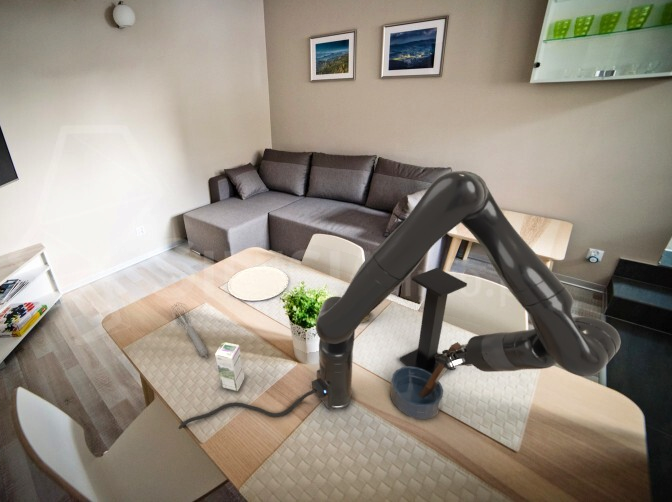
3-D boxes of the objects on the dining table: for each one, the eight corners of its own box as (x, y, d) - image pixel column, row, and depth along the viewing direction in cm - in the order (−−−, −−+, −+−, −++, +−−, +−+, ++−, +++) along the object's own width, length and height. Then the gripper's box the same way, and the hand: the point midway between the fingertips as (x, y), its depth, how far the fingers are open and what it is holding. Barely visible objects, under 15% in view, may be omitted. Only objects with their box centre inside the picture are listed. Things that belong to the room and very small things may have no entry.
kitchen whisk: (199, 364, 113) (196, 350, 110) (170, 315, 139) (167, 302, 137) (215, 356, 116) (212, 342, 113) (184, 309, 142) (181, 297, 140)
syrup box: (245, 377, 106) (239, 343, 100) (237, 392, 101) (231, 357, 95) (229, 373, 108) (223, 340, 102) (221, 388, 103) (214, 354, 97)
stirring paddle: (454, 351, 77) (449, 346, 78) (421, 398, 92) (418, 394, 93) (464, 345, 78) (459, 340, 79) (431, 393, 93) (427, 389, 94)
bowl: (415, 429, 86) (417, 413, 84) (380, 391, 97) (381, 377, 95) (450, 408, 91) (454, 392, 88) (413, 374, 102) (415, 360, 100)
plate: (237, 309, 139) (237, 307, 138) (221, 277, 164) (221, 275, 163) (299, 291, 148) (298, 288, 147) (275, 262, 173) (274, 260, 172)
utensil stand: (424, 382, 99) (438, 295, 86) (399, 360, 108) (409, 277, 94) (452, 367, 103) (469, 282, 90) (426, 347, 112) (439, 266, 98)
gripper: (509, 323, 72) (452, 333, 87) (465, 346, 67) (413, 352, 83) (529, 357, 70) (466, 361, 85) (485, 383, 65) (427, 382, 80)
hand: (440, 356), depth 84 cm, fingers closed on stirring paddle
